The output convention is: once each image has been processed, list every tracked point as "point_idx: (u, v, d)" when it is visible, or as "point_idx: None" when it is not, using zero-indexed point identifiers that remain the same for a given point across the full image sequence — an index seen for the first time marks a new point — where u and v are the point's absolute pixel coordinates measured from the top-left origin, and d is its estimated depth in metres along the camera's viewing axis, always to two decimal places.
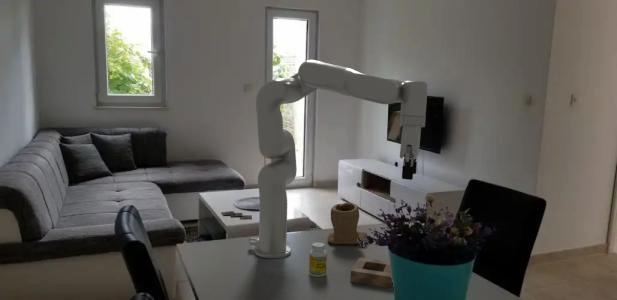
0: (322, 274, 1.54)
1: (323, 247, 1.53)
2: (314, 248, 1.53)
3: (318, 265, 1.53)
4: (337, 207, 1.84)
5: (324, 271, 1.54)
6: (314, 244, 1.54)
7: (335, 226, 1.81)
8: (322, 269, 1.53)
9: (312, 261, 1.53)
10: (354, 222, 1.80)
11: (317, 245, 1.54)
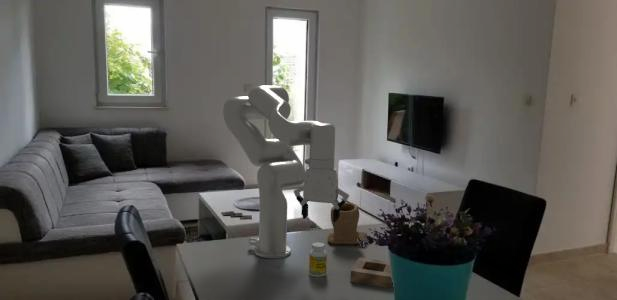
0: (322, 274, 1.54)
1: (323, 247, 1.53)
2: (314, 248, 1.53)
3: (318, 265, 1.53)
4: None
5: (324, 271, 1.54)
6: (314, 244, 1.54)
7: (335, 226, 1.81)
8: (322, 269, 1.53)
9: (312, 261, 1.53)
10: (354, 222, 1.80)
11: (317, 245, 1.54)
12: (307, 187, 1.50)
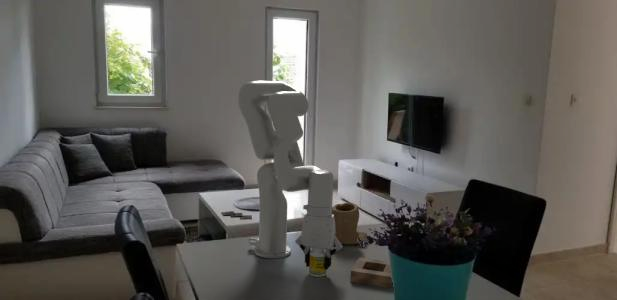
0: (322, 274, 1.54)
1: None
2: (314, 248, 1.53)
3: (318, 265, 1.53)
4: (337, 207, 1.84)
5: (324, 271, 1.54)
6: None
7: (335, 226, 1.81)
8: (322, 269, 1.53)
9: (312, 261, 1.53)
10: (354, 222, 1.80)
11: None
12: (305, 232, 1.52)
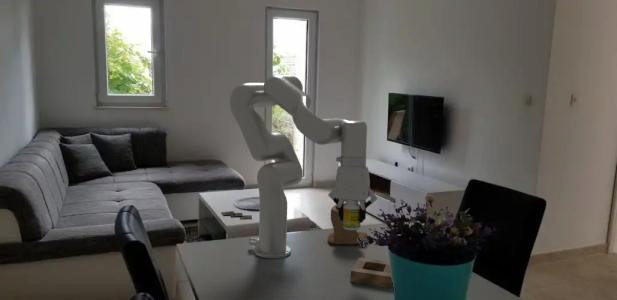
0: (357, 227, 1.50)
1: None
2: (348, 200, 1.50)
3: (353, 217, 1.49)
4: (337, 207, 1.84)
5: (358, 224, 1.50)
6: None
7: (335, 226, 1.81)
8: (357, 222, 1.50)
9: (346, 214, 1.50)
10: None
11: None
12: (339, 184, 1.49)
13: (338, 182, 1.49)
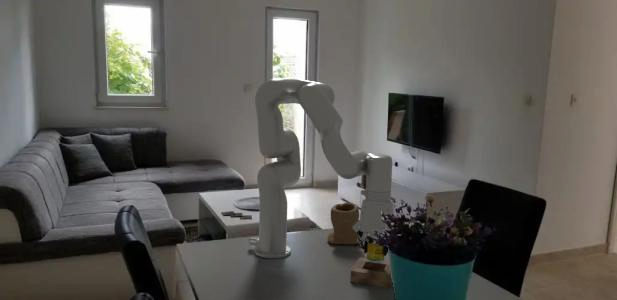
0: (381, 260, 1.51)
1: None
2: (373, 234, 1.51)
3: (377, 250, 1.50)
4: (337, 207, 1.84)
5: (382, 257, 1.51)
6: None
7: (335, 226, 1.81)
8: (381, 255, 1.51)
9: (371, 247, 1.51)
10: (354, 222, 1.80)
11: None
12: (364, 218, 1.50)
13: (363, 216, 1.50)
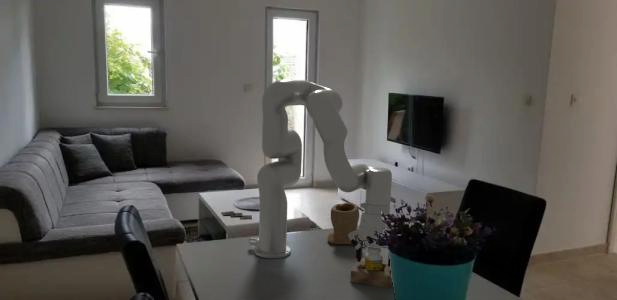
0: None
1: (379, 250, 1.52)
2: (370, 251, 1.52)
3: (375, 268, 1.51)
4: (337, 207, 1.84)
5: None
6: (370, 247, 1.53)
7: (335, 226, 1.81)
8: None
9: (368, 264, 1.52)
10: (354, 222, 1.80)
11: (373, 248, 1.52)
12: (363, 231, 1.51)
13: (362, 229, 1.51)
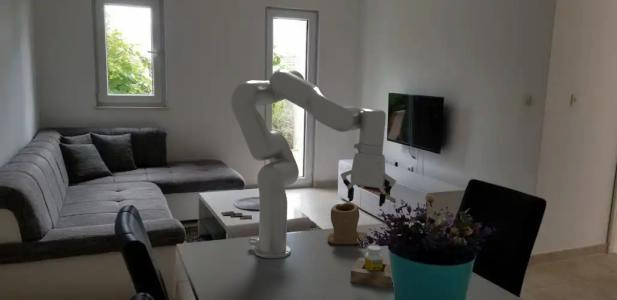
0: None
1: (379, 250, 1.52)
2: (370, 251, 1.52)
3: (375, 268, 1.51)
4: (337, 207, 1.84)
5: None
6: (370, 247, 1.53)
7: (335, 226, 1.81)
8: None
9: (368, 264, 1.52)
10: (354, 222, 1.80)
11: (373, 248, 1.52)
12: (355, 171, 1.53)
13: (354, 168, 1.53)
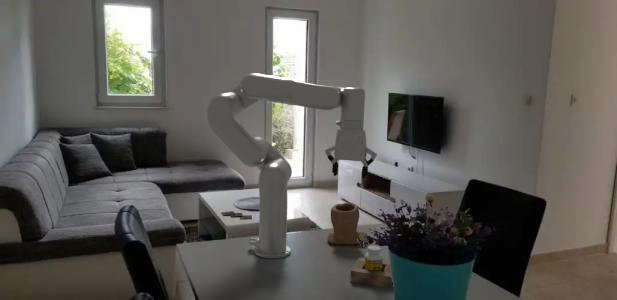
0: None
1: (379, 250, 1.52)
2: (370, 251, 1.52)
3: (375, 268, 1.51)
4: (337, 207, 1.84)
5: None
6: (370, 247, 1.53)
7: (335, 226, 1.81)
8: None
9: (368, 264, 1.52)
10: (354, 222, 1.80)
11: (373, 248, 1.52)
12: (339, 146, 1.63)
13: (338, 143, 1.63)
